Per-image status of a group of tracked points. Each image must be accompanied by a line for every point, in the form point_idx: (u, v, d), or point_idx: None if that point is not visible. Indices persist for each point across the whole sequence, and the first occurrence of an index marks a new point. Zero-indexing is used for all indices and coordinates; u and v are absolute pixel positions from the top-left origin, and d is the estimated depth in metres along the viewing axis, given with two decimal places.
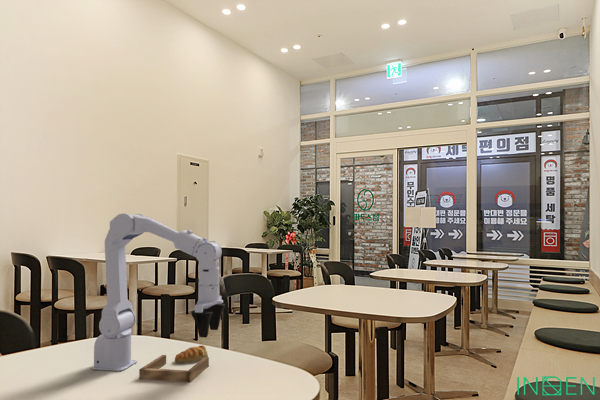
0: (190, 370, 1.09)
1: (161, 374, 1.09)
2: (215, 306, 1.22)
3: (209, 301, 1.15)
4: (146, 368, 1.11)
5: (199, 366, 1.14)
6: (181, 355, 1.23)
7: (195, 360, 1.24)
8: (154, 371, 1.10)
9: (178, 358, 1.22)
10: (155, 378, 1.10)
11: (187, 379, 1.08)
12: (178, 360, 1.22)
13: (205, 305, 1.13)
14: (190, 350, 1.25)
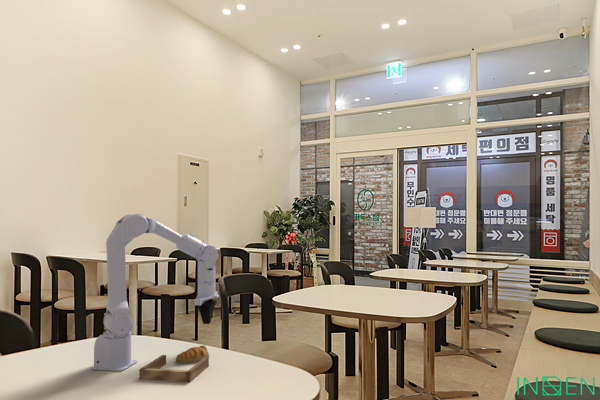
0: (190, 370, 1.09)
1: (161, 374, 1.09)
2: None
3: (207, 296, 1.35)
4: (146, 368, 1.11)
5: (199, 366, 1.14)
6: (182, 355, 1.23)
7: (196, 360, 1.23)
8: (154, 371, 1.10)
9: (179, 358, 1.22)
10: (155, 378, 1.10)
11: (187, 379, 1.08)
12: (180, 360, 1.22)
13: (203, 299, 1.32)
14: (191, 350, 1.25)
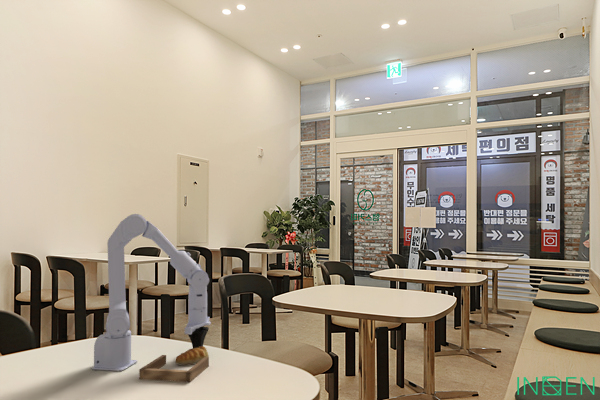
0: (190, 370, 1.09)
1: (161, 374, 1.09)
2: None
3: (198, 323, 1.27)
4: (146, 368, 1.11)
5: (199, 366, 1.14)
6: (182, 356, 1.21)
7: (196, 361, 1.22)
8: (154, 371, 1.10)
9: (179, 360, 1.20)
10: (155, 378, 1.10)
11: (187, 379, 1.08)
12: (179, 362, 1.20)
13: (194, 327, 1.25)
14: (191, 351, 1.23)
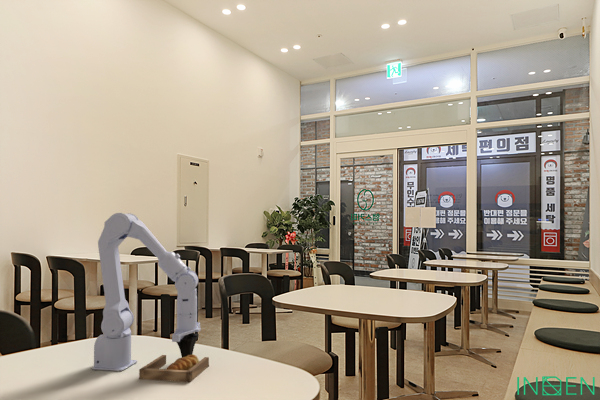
0: (190, 370, 1.09)
1: (161, 374, 1.09)
2: None
3: (187, 330, 1.20)
4: (146, 368, 1.11)
5: (199, 366, 1.14)
6: (174, 367, 1.13)
7: None
8: (154, 371, 1.10)
9: None
10: (155, 378, 1.10)
11: (187, 379, 1.08)
12: None
13: (182, 334, 1.17)
14: (182, 361, 1.15)
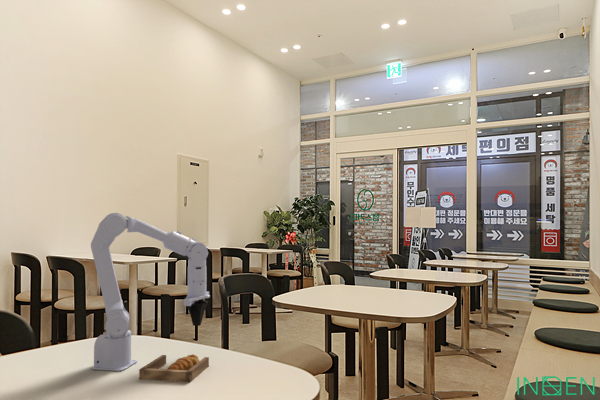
0: (190, 370, 1.09)
1: (161, 374, 1.09)
2: None
3: (197, 296, 1.27)
4: (146, 368, 1.11)
5: (199, 366, 1.14)
6: (175, 367, 1.13)
7: None
8: (154, 371, 1.10)
9: None
10: (155, 378, 1.10)
11: (187, 379, 1.08)
12: None
13: (193, 299, 1.24)
14: (183, 361, 1.15)
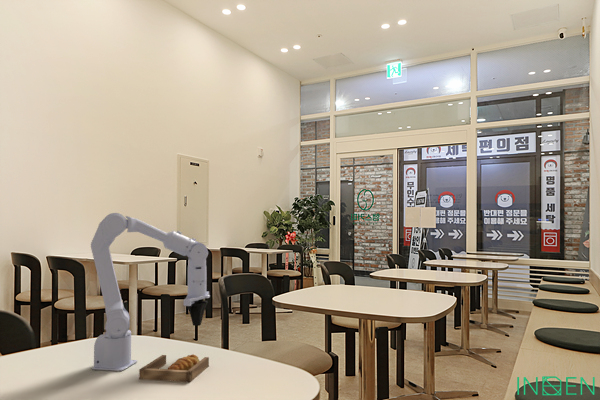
0: (190, 370, 1.09)
1: (161, 374, 1.09)
2: None
3: (197, 296, 1.27)
4: (146, 368, 1.11)
5: (199, 366, 1.14)
6: (176, 367, 1.13)
7: None
8: (154, 371, 1.10)
9: None
10: (155, 378, 1.10)
11: (187, 379, 1.08)
12: None
13: (193, 299, 1.24)
14: (183, 361, 1.15)
